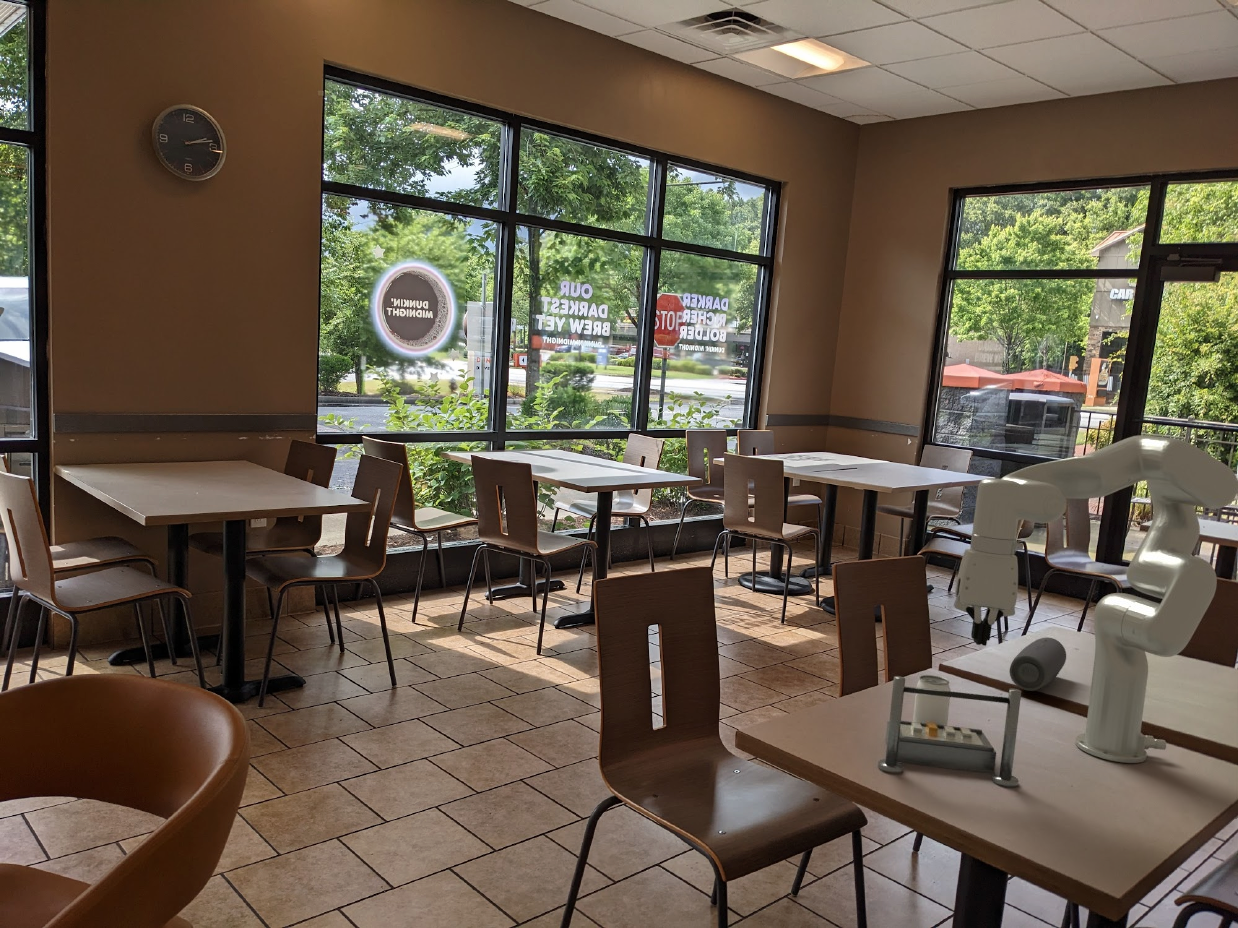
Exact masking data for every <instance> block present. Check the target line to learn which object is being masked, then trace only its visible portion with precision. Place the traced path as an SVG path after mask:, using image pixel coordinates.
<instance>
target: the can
mask: <svg viewBox="0 0 1238 928" xmlns="http://www.w3.org/2000/svg"><path fill="white" fill-rule="evenodd" d="M915 688H923V689H933V690H942V691H951V687H950V681H949V680H948V679H947V678H944V677H941V676H938V675H937V676H936V675H931V674H930V675H928V674H926V675H920V677H919V680H918V682H917V683H916V687H915ZM951 692H952V691H951ZM950 701H951V697H944V696H935V695H926V694H917V693H915V698H914V706H913V717H912V722H918V723H926V722H930V723H935V724H936V725H944V726H948V722H949V713H950V712H949V710H950V703H951V702H950Z"/></svg>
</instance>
